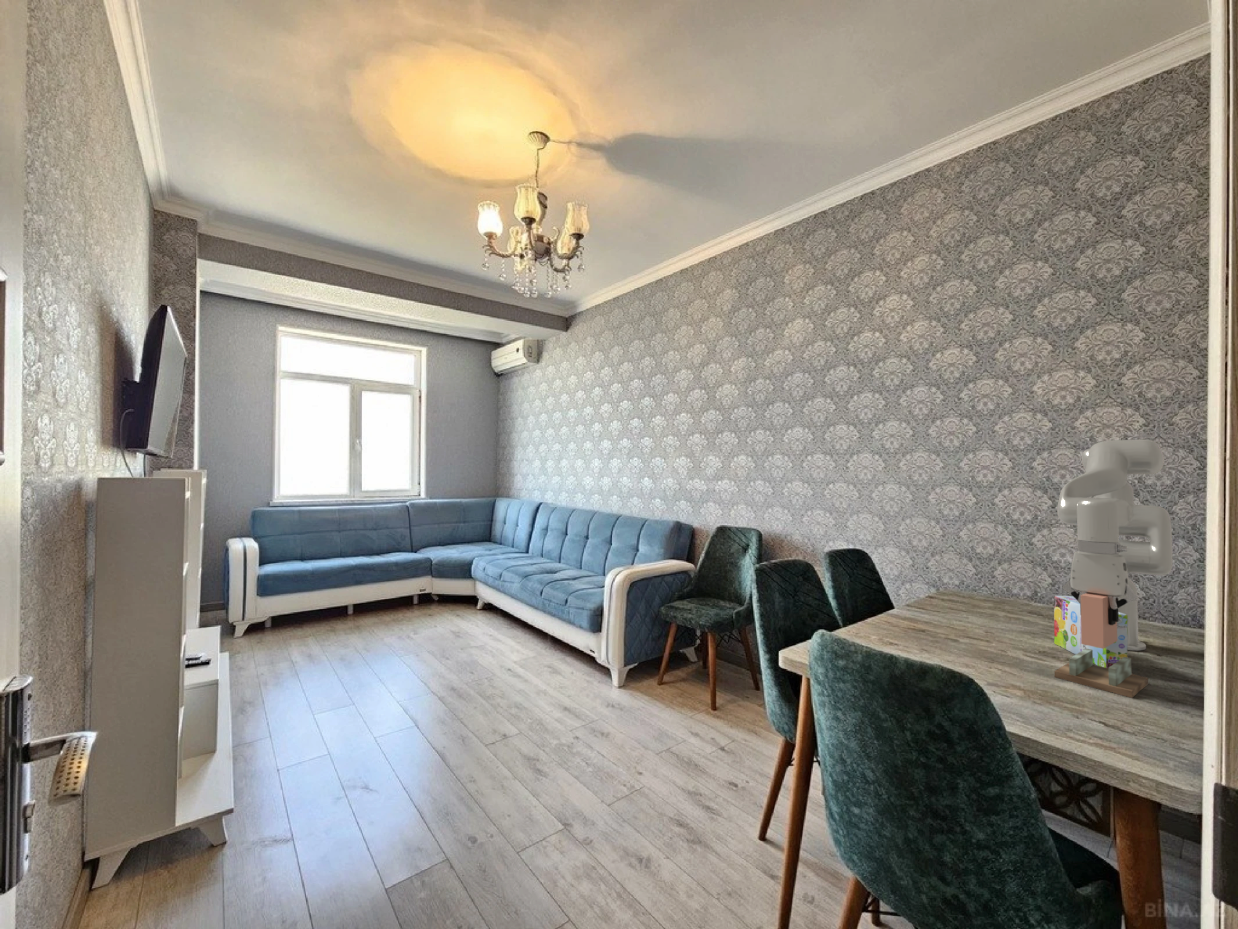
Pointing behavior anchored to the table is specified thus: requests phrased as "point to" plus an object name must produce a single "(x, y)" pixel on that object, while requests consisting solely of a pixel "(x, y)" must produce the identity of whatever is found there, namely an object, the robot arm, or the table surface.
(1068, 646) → the snack box
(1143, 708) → the table surface
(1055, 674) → the shelf board
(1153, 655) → the table surface
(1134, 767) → the table surface
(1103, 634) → the tall pink block
